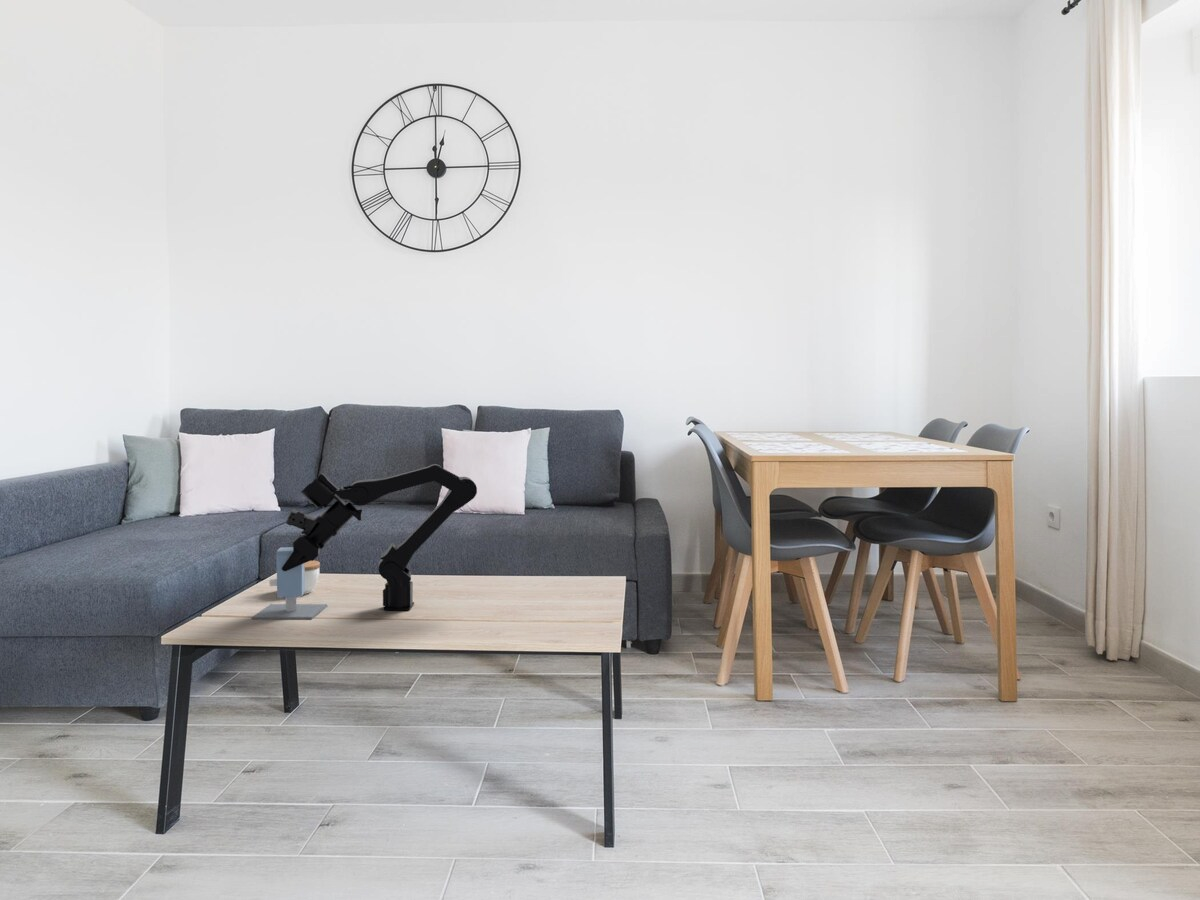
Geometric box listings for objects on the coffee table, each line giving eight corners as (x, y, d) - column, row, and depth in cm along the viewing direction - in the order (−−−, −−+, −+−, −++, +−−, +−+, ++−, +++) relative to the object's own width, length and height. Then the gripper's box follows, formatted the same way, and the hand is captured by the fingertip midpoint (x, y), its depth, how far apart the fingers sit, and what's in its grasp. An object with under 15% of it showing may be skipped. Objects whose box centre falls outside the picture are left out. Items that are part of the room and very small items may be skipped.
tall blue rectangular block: (304, 590, 198) (304, 546, 197) (302, 596, 193) (301, 550, 192) (272, 592, 196) (271, 547, 196) (268, 597, 191) (267, 552, 190)
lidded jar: (306, 598, 209) (305, 562, 209) (269, 595, 212) (268, 560, 211) (327, 588, 220) (327, 554, 219) (292, 586, 222) (292, 552, 222)
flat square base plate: (327, 606, 201) (327, 588, 201) (312, 619, 189) (312, 600, 189) (270, 606, 201) (270, 588, 200) (252, 618, 189) (251, 600, 188)
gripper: (311, 494, 203) (265, 538, 201) (302, 503, 185) (251, 552, 183) (344, 523, 206) (299, 568, 204) (338, 535, 187) (288, 584, 186)
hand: (284, 567), depth 194 cm, fingers closed on tall blue rectangular block, 6 cm apart
